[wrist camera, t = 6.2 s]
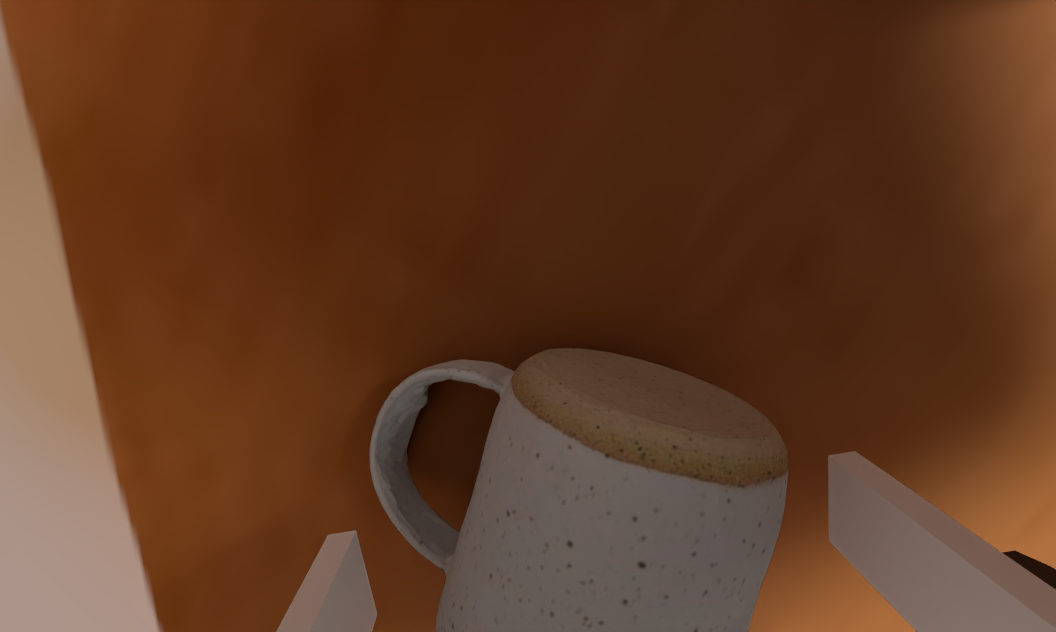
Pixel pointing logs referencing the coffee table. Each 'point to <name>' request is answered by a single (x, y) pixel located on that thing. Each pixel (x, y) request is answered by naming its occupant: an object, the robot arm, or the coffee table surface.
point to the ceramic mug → (595, 498)
